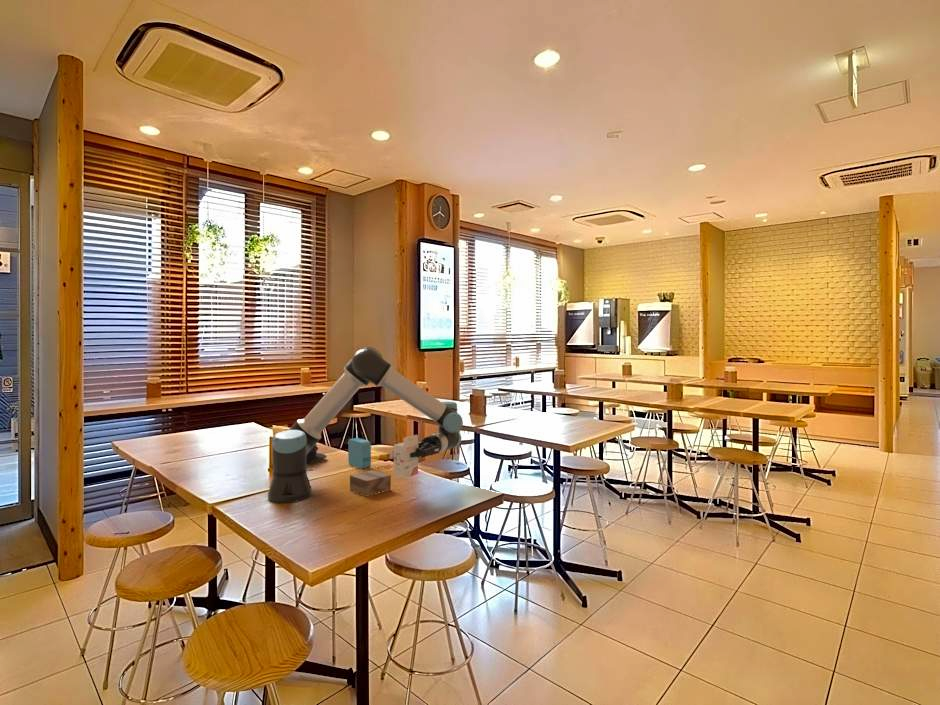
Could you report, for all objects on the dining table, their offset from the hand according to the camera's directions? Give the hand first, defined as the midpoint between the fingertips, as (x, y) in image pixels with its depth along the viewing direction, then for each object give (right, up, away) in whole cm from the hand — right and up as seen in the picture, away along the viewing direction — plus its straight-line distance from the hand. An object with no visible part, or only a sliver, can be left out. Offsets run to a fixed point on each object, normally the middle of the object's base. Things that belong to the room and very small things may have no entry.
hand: (397, 455), depth 178 cm
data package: (-24, -15, +49) cm, 56 cm away
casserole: (-53, -15, +54) cm, 77 cm away
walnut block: (-12, -16, +14) cm, 24 cm away
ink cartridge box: (+2, -8, +5) cm, 10 cm away
